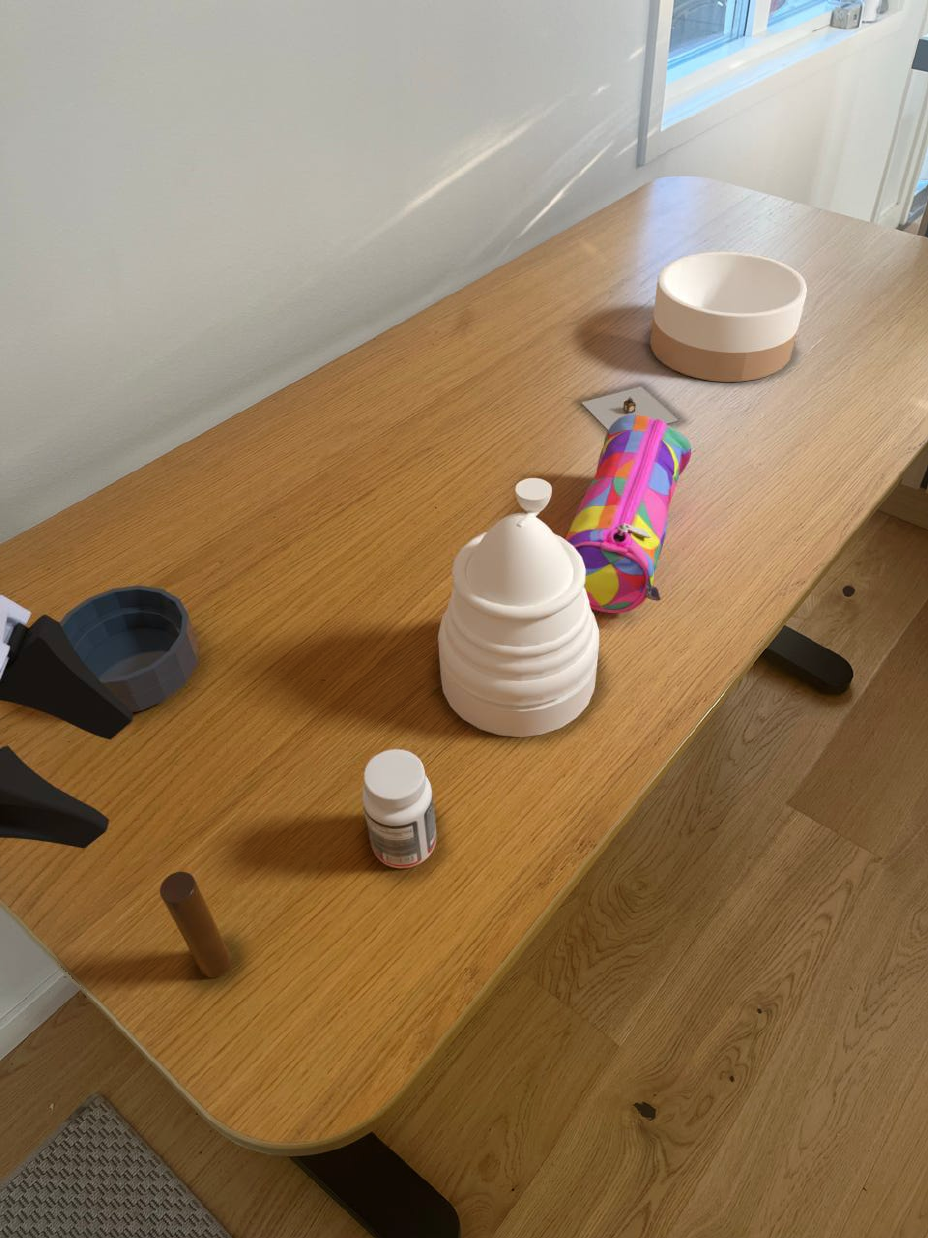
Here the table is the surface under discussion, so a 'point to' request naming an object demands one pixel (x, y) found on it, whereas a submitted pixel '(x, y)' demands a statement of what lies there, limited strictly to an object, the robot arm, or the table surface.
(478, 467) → the table surface
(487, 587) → the honey pot
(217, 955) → the stirring stick
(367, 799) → the pill bottle
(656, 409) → the grey flat square sheet
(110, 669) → the mixing bowl
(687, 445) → the pencil case
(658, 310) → the bowl
